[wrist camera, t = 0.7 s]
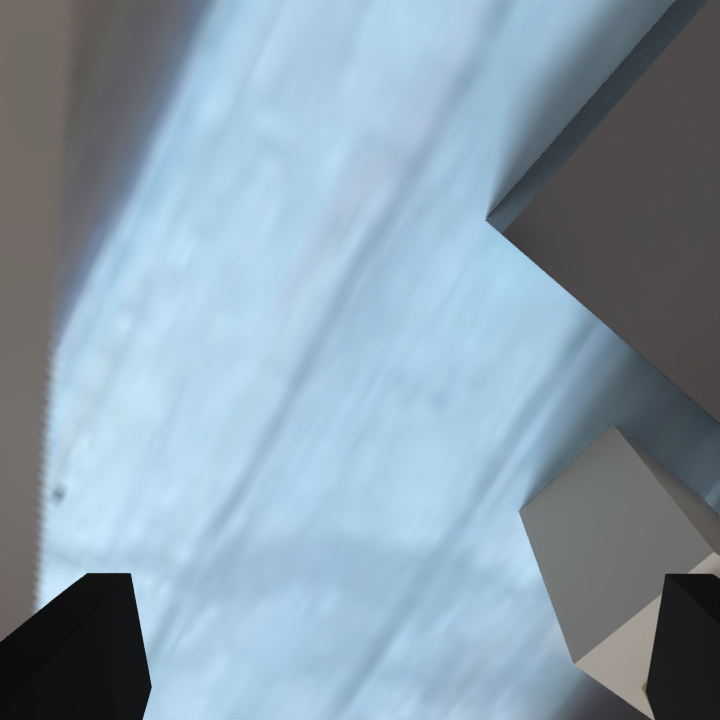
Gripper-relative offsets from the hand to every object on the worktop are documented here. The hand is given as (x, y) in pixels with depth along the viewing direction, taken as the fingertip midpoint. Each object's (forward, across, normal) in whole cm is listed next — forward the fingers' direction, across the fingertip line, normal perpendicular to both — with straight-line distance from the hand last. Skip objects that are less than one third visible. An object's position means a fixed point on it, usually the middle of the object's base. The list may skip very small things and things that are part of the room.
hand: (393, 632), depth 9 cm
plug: (+10, -7, +5) cm, 13 cm away
